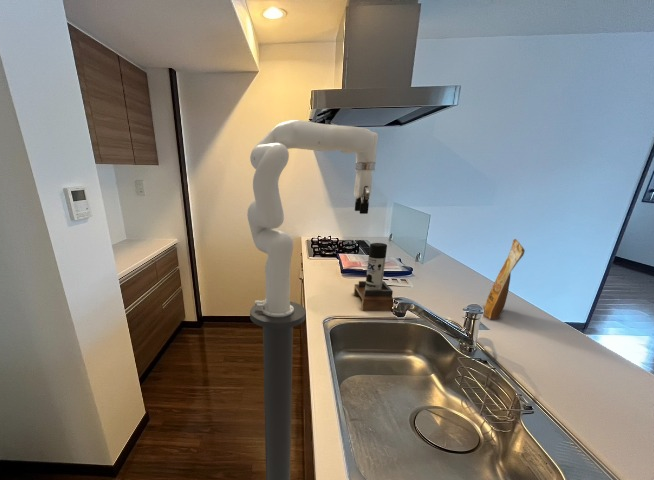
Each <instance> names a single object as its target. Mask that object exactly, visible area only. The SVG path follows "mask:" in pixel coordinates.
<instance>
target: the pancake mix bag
mask: <svg viewBox="0 0 654 480" xmlns="http://www.w3.org/2000/svg"><path fill="white" fill-rule="evenodd" d="M524 255H525V248H524V247H523V245H522V244H521V243H520V242H519V240H518V239H517V238H513V239H512V245H511V248H510V251H509V252H508V255H507V257H506V259H505V262H504V263H503V266H502V267H501V269H500V270H499V273H498V274H497V276H496V279H495V280H494V283H493V285H492V287H491V289H490V291H489V294H488V296H487V298H486V302H485V306H484V317H485V318H488V319H489V320H497V319H499V318H500V316H501V314H502V313H503V311H504V308H505V305H506V302H507V298H508V294H509V289H510V282H511V277H512V275H511V273H512V271H513V270H514V268H515V267H516V265H518V263H519V261H520V260H521V259H523V258H522V257H524Z"/></svg>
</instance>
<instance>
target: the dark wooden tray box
mask: <svg viewBox="0 0 654 480" xmlns="http://www.w3.org/2000/svg"><path fill="white" fill-rule="evenodd" d="M365 285H366V280H359V281H358V283H354V287H353V296H354V297H360V299H361V311H372V312H373V311H374V312H376V311H378V312H379V311H380V312H381V311H382V312H385V311H386V312H392V311H391V309H392V307H393V308H394V305H395V301H394V302H393V299H394V300H395V298H394V297H393V294H394V293H393V292H394V290H393V289H392V288H391V287H390V286H389V285H388V284H387V283H386V282H385V280H383V282H382V289H381V290H365Z"/></svg>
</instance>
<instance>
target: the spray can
mask: <svg viewBox="0 0 654 480" xmlns="http://www.w3.org/2000/svg"><path fill="white" fill-rule="evenodd" d="M387 249H388V244H386V243H383V242H372V243H370V244H369V250H368V251H369V252H368V259H367V267H366V277H365V281H366V285H365V290H381V289H382V282H383V281H384V273H385V266H386V258H387Z"/></svg>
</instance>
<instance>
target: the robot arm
mask: <svg viewBox="0 0 654 480" xmlns="http://www.w3.org/2000/svg"><path fill="white" fill-rule="evenodd" d="M378 143H379V134H378V133H377V132H375V131H372V130H370V129H368V128H365V127H360V126H354V125H353V126H352V125H339V124H327V123H321V122H313V121H309V120H308V121H307V120H301V119H293V120H292V119H291V120H287V121H283V122H280V123H278V124H277V125H276V126H274V127H273V128H272V129H271V130H270V131H269V132H268V133H267V134H266V135H265V136H264V137H263V138H262V139H261V140H260V141H259V142H258V143H257V144H256V145H255V146H254V147H253V149H252V150H251V153H250V155H249V157H250V158H249V160H250V164H251V166H252V167H253V169H254V170H255V171H254V175H253V179H252V190H253V196H254V200H253V201H252V202H251V203H250V204H249V206H248V208H247V214H246V215H247V222H248V225H249V229H250V233H251V236H252V240H253V243H254V245H255V247H256V249H258V251H260V252H262V253H264V254H266V255H267V258H266V262H265V266H264V269H265V270H264V274H265V277H264V278H265V298H264V299H262V300H254V306H255V305H257V307H262V312H263V313H264V314H265V315H267V316H271V317H285V316H289V315H291V314H292V313H293V312H294V308H293V306H291V305H290V302H291V263H292V257H293V251H294V240H293V238H292V236H291V235H289V234H288V233H287V232H285V231H283V230H279V229H278V228H280V227H281V226H282V225H283V223H284V220H285V215H284V209H283V204H282V200H281V195H280V189H279V180H280V176H281V174H282V173H283V171H284V169H286V167H287V165H288V162H289V157H290V154H289V149H297V150H298V149H299V150H308V151H314V152H315V151H316V152H334V151H340V152H341V153H343V154H355V167H354V168H355V169H354V171H355V173H356V175H355V181H354V187H353V196H354V198H355V202H354V212H359V214H360V215H365V214H366V215H368V213H369V206H370V205H369V204H370V197H371V192H372V184H373V183H372V182H373V172H376V162H377V153H378Z"/></svg>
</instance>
